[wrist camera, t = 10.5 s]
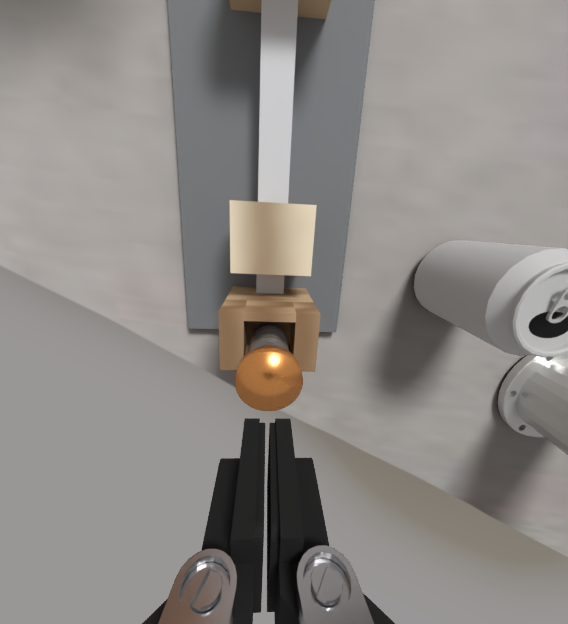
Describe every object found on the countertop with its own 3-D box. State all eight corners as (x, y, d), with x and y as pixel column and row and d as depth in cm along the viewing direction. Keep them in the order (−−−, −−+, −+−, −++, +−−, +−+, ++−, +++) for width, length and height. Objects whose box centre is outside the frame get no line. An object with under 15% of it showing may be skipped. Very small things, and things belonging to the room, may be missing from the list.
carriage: (306, 209, 24) (316, 205, 19) (302, 266, 25) (310, 276, 20) (237, 205, 23) (229, 200, 18) (238, 263, 25) (230, 272, 20)
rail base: (373, -18, 20) (423, -135, 14) (333, 328, 29) (353, 359, 22) (169, -41, 19) (117, -179, 13) (190, 324, 28) (166, 356, 21)
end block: (305, 288, 26) (320, 314, 19) (302, 331, 28) (315, 371, 20) (233, 285, 26) (218, 311, 18) (233, 329, 27) (219, 370, 20)
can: (401, 308, 29) (489, 364, 17) (419, 235, 26) (534, 243, 15) (467, 314, 29) (594, 372, 18) (491, 243, 27) (653, 257, 16)
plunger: (294, 316, 19) (305, 352, 14) (292, 361, 21) (300, 411, 15) (244, 315, 19) (234, 351, 14) (244, 360, 20) (235, 410, 15)
